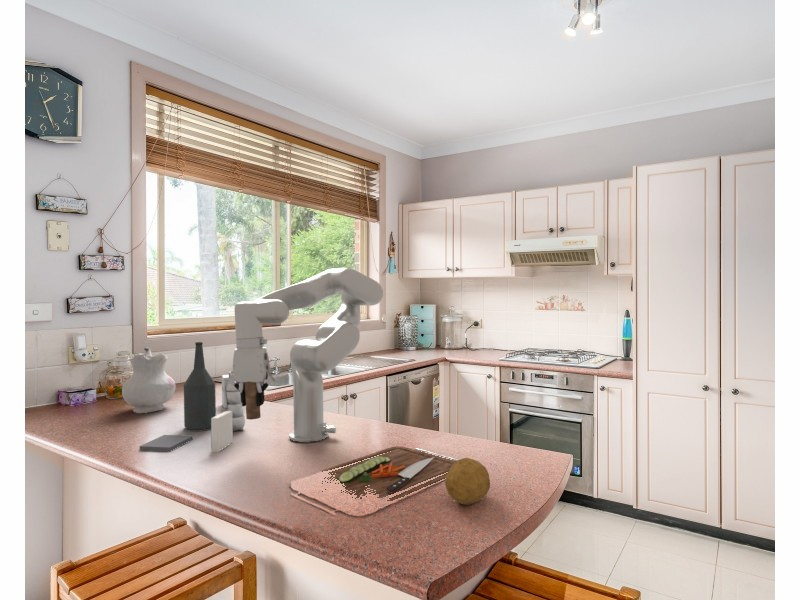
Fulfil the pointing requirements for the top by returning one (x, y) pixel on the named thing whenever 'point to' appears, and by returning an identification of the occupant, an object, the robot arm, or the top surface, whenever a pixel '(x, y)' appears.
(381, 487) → the chopping board
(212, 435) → the tile
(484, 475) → the potato
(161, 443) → the mat
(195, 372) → the bottle
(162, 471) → the top surface
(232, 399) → the plastic bottle
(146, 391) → the ceramic pitcher
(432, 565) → the top surface
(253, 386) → the dowel
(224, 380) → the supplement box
